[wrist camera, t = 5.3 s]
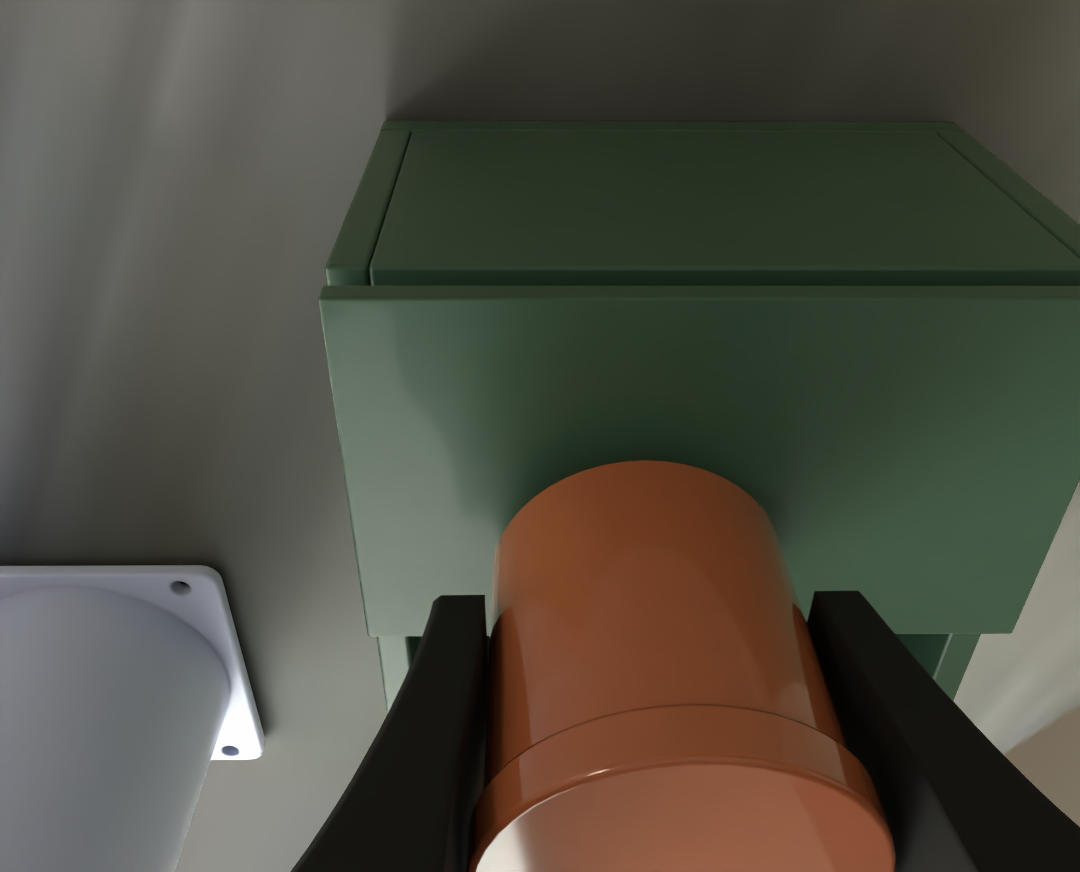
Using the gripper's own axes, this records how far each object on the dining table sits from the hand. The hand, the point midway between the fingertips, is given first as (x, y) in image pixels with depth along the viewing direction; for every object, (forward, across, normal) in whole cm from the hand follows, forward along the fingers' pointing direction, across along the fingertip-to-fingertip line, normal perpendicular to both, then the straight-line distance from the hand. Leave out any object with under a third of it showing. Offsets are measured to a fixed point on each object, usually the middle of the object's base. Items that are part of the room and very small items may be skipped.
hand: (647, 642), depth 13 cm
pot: (+1, 0, 0) cm, 1 cm away
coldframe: (+9, -1, +2) cm, 10 cm away
